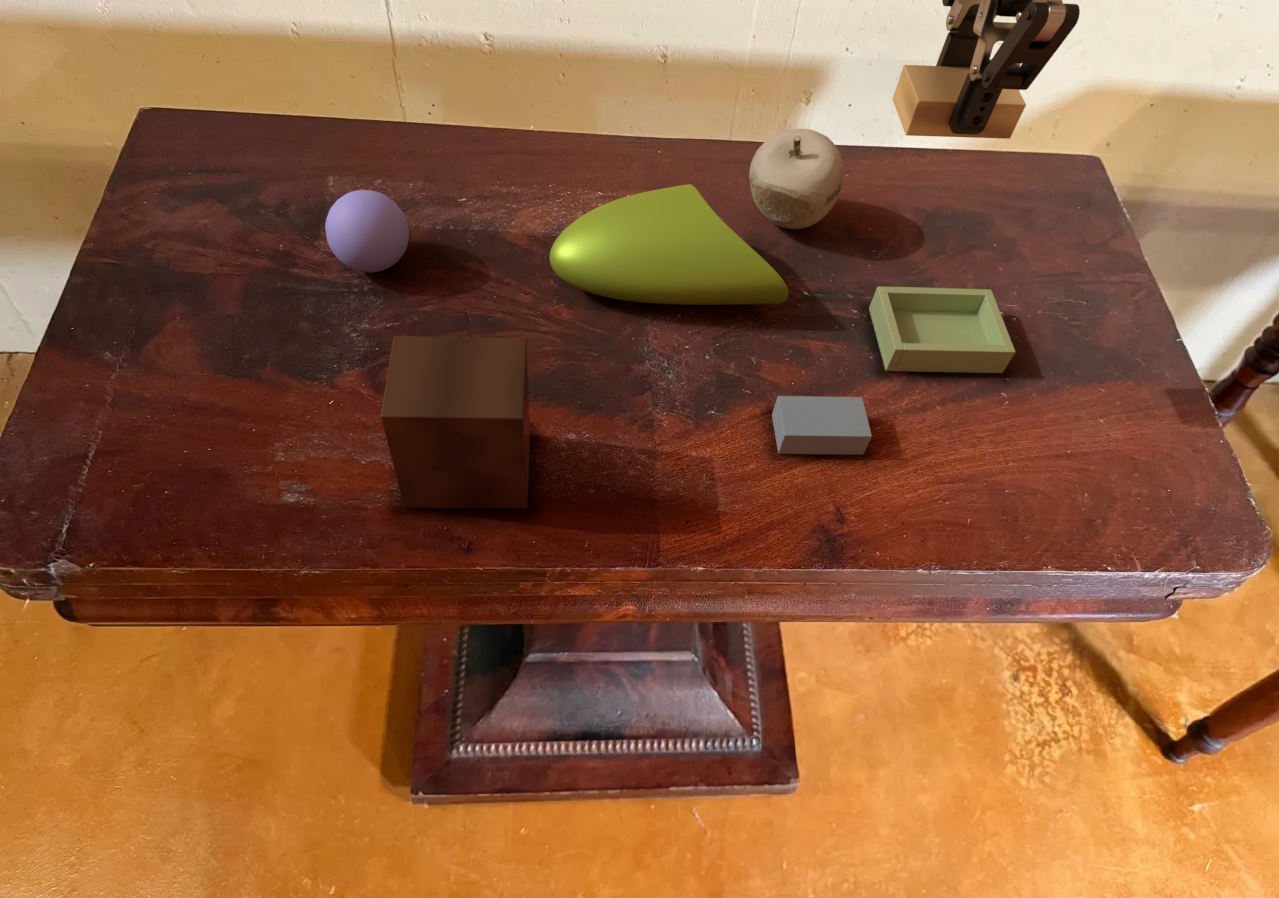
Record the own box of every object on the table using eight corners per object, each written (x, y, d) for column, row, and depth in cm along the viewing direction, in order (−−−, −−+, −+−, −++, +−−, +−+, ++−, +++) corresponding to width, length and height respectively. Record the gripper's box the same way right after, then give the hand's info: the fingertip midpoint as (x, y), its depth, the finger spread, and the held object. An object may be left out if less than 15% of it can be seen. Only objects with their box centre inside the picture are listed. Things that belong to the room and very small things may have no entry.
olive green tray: (979, 311, 82) (991, 289, 80) (1002, 373, 78) (1016, 352, 76) (868, 308, 81) (877, 286, 79) (885, 371, 77) (895, 349, 75)
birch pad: (992, 102, 60) (1007, 68, 58) (1010, 139, 57) (1026, 104, 55) (891, 99, 59) (903, 64, 57) (905, 136, 57) (918, 100, 55)
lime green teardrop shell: (765, 155, 78) (539, 178, 76) (796, 269, 73) (555, 296, 72) (752, 213, 85) (545, 235, 84) (779, 320, 80) (560, 346, 79)
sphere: (346, 297, 77) (329, 235, 71) (325, 246, 81) (307, 183, 75) (424, 277, 79) (414, 214, 74) (400, 228, 83) (389, 165, 77)
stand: (530, 433, 70) (526, 338, 61) (527, 509, 66) (522, 418, 57) (414, 432, 69) (393, 335, 60) (404, 508, 65) (380, 416, 56)
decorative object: (834, 202, 90) (861, 115, 82) (822, 258, 85) (850, 170, 77) (749, 183, 91) (767, 94, 83) (732, 237, 86) (751, 148, 78)
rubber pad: (854, 415, 74) (862, 396, 72) (863, 454, 71) (872, 436, 69) (771, 414, 73) (777, 395, 71) (777, 454, 71) (784, 435, 69)
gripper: (1214, -133, 40) (1044, 181, 54) (1101, -247, 48) (979, 51, 62) (1056, -143, 39) (925, 177, 53) (969, -257, 47) (875, 46, 61)
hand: (954, 108), depth 58 cm, fingers closed on birch pad, 4 cm apart
